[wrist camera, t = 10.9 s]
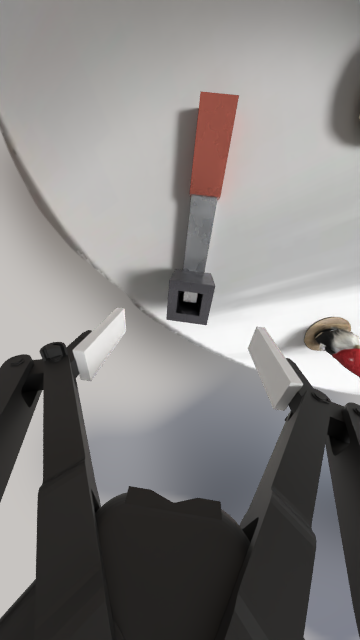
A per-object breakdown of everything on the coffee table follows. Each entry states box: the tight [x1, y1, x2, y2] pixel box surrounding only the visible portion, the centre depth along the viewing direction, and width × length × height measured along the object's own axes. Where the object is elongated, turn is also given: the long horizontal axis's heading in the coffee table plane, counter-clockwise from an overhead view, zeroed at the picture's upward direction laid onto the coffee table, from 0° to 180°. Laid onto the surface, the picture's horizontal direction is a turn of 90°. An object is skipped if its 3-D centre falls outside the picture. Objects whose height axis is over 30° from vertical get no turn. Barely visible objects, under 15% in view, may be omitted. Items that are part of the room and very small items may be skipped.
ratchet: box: [180, 92, 239, 303], centre depth 23 cm, size 25×6×7 cm, turn 174°
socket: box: [166, 269, 215, 325], centre depth 26 cm, size 6×6×7 cm
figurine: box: [304, 317, 360, 377], centre depth 31 cm, size 8×10×12 cm
